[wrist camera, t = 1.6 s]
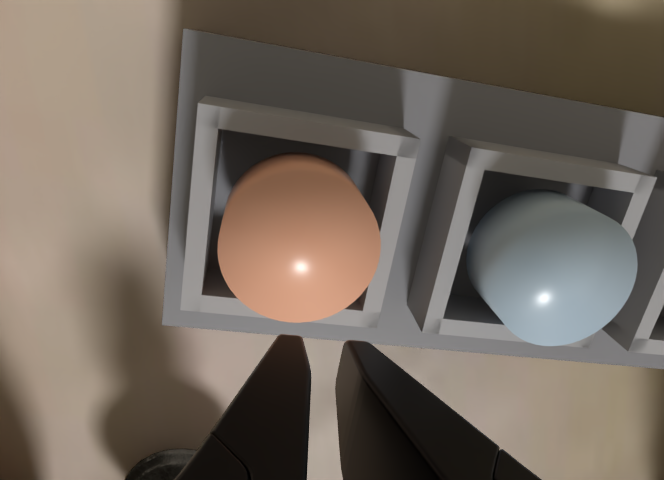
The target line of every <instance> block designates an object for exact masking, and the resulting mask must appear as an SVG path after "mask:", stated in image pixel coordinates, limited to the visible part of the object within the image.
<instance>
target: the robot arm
mask: <svg viewBox="0 0 664 480" xmlns="http://www.w3.org/2000/svg"><path fill="white" fill-rule="evenodd" d="M335 392H336V406H337V420H338V434H339V448H340V460H341V470H342V476H343V480H541V479H540V478H539V477H537V476H536V475H535V474H533V473H532V472H531V471H530V470H528V469H527V468H526V467H524V466H523V465H522V464H520V463H519V462H518V461H517V460H516V459H514V458H513V457H512V456H511V455H509V454H508V453H507V452H506V451H504V450H503V449H501V450H499V446H498V445H497V444H495V443H494V442H493V441H492V440H490V439H489V438H488V437H487V436H485V435H484V434H483V433H482V432H480V431H479V430H478V429H477V428H475V427H474V426H473V425H472V424H470V423H469V422H468V421H467V420H465V419H464V418H463V417H462V416H460V415H459V414H458V413H457V412H455V411H454V410H453V409H452V408H450V407H449V406H448V405H447V404H445V403H444V402H443V401H442V400H440V399H439V398H438V397H437V396H435V395H434V394H433V393H432V392H430V391H429V390H428V389H427V388H425V387H424V386H423V385H422V384H420V383H419V382H418V381H417V380H415V379H414V378H413V377H411V376H410V375H409V374H408V373H406V372H405V371H404V370H403V369H401V368H400V367H399V366H398V365H396V364H395V363H394V362H393V361H391V360H390V359H389V358H388V357H386V356H385V355H384V354H383V353H381V352H380V351H379V350H378V349H376V348H375V347H374V346H373V345H371V344H370V343H369V342H366V341H357V340H347V341H346V342H345V343H344V346H343V349H342V354H341V359H340V363H339V368H338V373H337V378H336V388H335ZM310 394H311V370H310V365H309V361H308V357H307V353H306V350H305V346H304V342H303V339H302V337H301V336H299V335H288V334H280V335H279V336H278V337H277V338H276V340H275V341H274V342H273V344H272V345H271V347H270V348H269V349H268V351H267V352H266V354H265V355H264V357H263V358H262V359H261V361H260V362H259V364H258V365H257V367H256V368H255V369H254V371H253V372H252V374H251V375H250V376H249V378H248V379H247V381H246V382H245V384H244V385H243V386H242V388H241V389H240V391H239V392H238V394H237V395H236V396H235V398H234V399H233V401H232V402H231V403H230V405H229V406H228V408H227V409H226V411H225V412H224V413H223V415H222V416H221V418H220V419H219V421H218V422H217V423H216V425H215V426H214V428H213V429H212V430H211V432H210V434H209V435H208V436H207V437H206V439H205V440H204V441H203V443H202V444H201V446H200V447H199V448H198V450H197V451H196V453H195V454H194V455H193V456H192V458H191V459H190V460H189V462H188V463H187V464H186V466H185V467H184V468H183V469H182V471H181V472H180V473H179V474H178V476H177V477H176V478H175V479H174V480H307V460H308V438H309V416H310Z"/></svg>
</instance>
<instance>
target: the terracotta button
mask: <svg viewBox="0 0 664 480" xmlns="http://www.w3.org/2000/svg"><path fill="white" fill-rule="evenodd" d="M217 252H218V261H219V265H220V269H221V272H222V275H223V277H224V280H225V281H226V283H227V285H228V287H229V288H230V290H231V291H232V292H233V293H234V295H235V296H236V297H237V298H238V299H239V300H240V301H241V302H242V303H243V304H244V305H246V306H247V307H248V308H250V309H251V310H253V311H255V312H257V313H258V314H260V315H263V316H265V317H268V318H270V319H274V320H278V321H283V322H293V323H301V322H311V321H316V320H320V319H323V318H327V317H329V316H332V315H334V314H336V313H338V312H340V311H341V310H343V309H345V308H346V307H348V306H349V305H350V304H352V303H353V302H354V301H355V300H356V299H357V298H358V297H359V296H360V295H361V294H362V293H363V292H364V291H365V289H366V288H367V287H368V285H369V283H370V282H371V280H372V278H373V276H374V274H375V272H376V269H377V266H378V263H379V258H380V252H381V239H380V231H379V228H378V224H377V221H376V218H375V216H374V214H373V212H372V210H371V209H370V207H369V205H368V204H367V202H366V200H365V199H364V197H363V196H362V194H361V193H360V191H359V189H358V188H357V186H356V185H355V183H354V181H353V180H352V179H351V178H350V176H349V175H348V174H347V173H346V172H345V171H344V170H343V169H342V168H340V167H339V166H338V165H336V164H335V163H333V162H331V161H329V160H328V159H326V158H323V157H320V156H318V155H314V154H309V153H302V152H289V153H282V154H277V155H274V156H271V157H268V158H266V159H264V160H261V161H259V162H258V163H256V164H255V165H253V166H252V167H250V168H249V169H248V170H247V171H246V172H245V173H244V174H243V175H242V176H241V177H240V178H239V179H238V180H237V182H236V183H235V185H234V186H233V188H232V190H231V192H230V194H229V196H228V199H227V202H226V206H225V210H224V215H223V219H222V223H221V228H220V232H219V238H218V251H217Z"/></svg>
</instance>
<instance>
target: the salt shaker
mask: <svg viewBox="0 0 664 480" xmlns="http://www.w3.org/2000/svg"><path fill="white" fill-rule="evenodd" d="M195 453H196V450H188V449H174V450H166V451H162V452H159V453H155V454H152V455H151V456H149V457H147V458H145V459H143V460H142V461H140V462H139V463H138V464H137V465H136V466H135V467H134V468H133V469H132V470H131V471H130V473H129V475H128V477H127V478H126V480H174V479H175V478H176V477H177V476H178V474H179V473H180V472H181V471H182V469H183V468H184V467H185V466H186V464H187V463H188V462H189V460H190V459H191V458H192V456H193V455H194V454H195Z"/></svg>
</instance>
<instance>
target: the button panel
mask: <svg viewBox="0 0 664 480" xmlns="http://www.w3.org/2000/svg"><path fill="white" fill-rule="evenodd" d="M289 152H302V153H309V154H314V155H318V156H320V157H323V158H326V159H328V160H329V161H331V162H333V163H335V164H336V165H338V166H339V167H340V168H342V169H343V170H344V171H345V172H346V173H347V174H348V175H349V176H350V178H351V179H352V180H353V181H354V183H355V185H356V186H357V188H358V189H359V191H360V193H361V194H362V196H363V197H364V199H365V200H366V202H367V204H368V205H369V207H370V209H371V210H372V212H373V214H374V216H375V218H376V221H377V224H378V228H379V231H380V239H381V252H380V258H379V263H378V266H377V269H376V272H375V274H374V276H373V278H372V280H371V282H370V283H369V285H368V287H367V288H366V289H365V291H364V292H363V293H362V294H361V295H360V296H359V297H358V298H357V299H356V300H355V301H354V302H353V303H352V304H350V305H349V306H348V307H346V308H345V309H343V310H341V311H340V312H338V313H336V314H334V315H332V316H329V317H327V318H323V319H320V320H316V321H311V322H301V323H293V322H283V321H278V320H274V319H270V318H268V317H265V316H263V315H260V314H258V313H257V312H255V311H253V310H251V309H250V308H248V307H247V306H246V305H244V304H243V303H242V302H241V301H240V300H239V299H238V298H237V297H236V296H235V295H234V293H233V292H232V291H231V290H230V288H229V287H228V285H227V283H226V281H225V280H224V277H223V275H222V272H221V269H220V265H219V261H218V252H217V251H218V238H219V232H220V228H221V223H222V219H223V215H224V210H225V206H226V202H227V199H228V196H229V194H230V192H231V190H232V188H233V186H234V185H235V183H236V182H237V180H238V179H239V178H240V177H241V176H242V175H243V174H244V173H245V172H246V171H247V170H248V169H249V168H250V167H252V166H253V165H255V164H256V163H258V162H259V161H261V160H264V159H266V158H268V157H271V156H274V155H277V154H282V153H289ZM532 189H549V190H554V191H558V192H560V193H563V194H565V195H567V196H569V197H571V198H573V199H575V200H577V201H579V202H580V203H582V204H584V205H586V206H588V207H590V208H592V209H594V210H596V211H598V212H600V213H602V214H604V215H606V216H608V217H609V218H611V219H613V220H615V221H616V222H618V223H619V224H620V225H621V226H622V227H623V228H624V229H625V230H626V231H627V232H628V234H629V235H630V237H631V239H632V240H633V243H634V246H635V248H636V253H637V263H638V265H637V275H636V279H635V283H634V286H633V289H632V291H631V293H630V295H629V298H628V299H627V301H626V303H625V304H624V306H623V307H622V308H621V310H620V311H619V312H618V314H617V315H616V316H615V317H614V318H613V319H612V320H611V321H610V322H609V323H607V324H606V325H605V326H604V327H603V328H601V329H600V330H598V331H597V332H596V333H594V334H592V335H590V336H588V337H586V338H584V339H582V340H580V341H577V342H574V343H570V344H566V345H560V346H541V345H535V344H532V343H529V342H526V341H524V340H522V339H520V338H519V337H517V336H516V335H514V334H513V333H512V332H511V331H510V330H509V329H508V328H507V327H506V326H505V324H504V323H503V322H502V321H501V320H500V318H499V317H498V316H497V315H496V314H495V312H494V311H493V310H492V309H491V308H490V307H489V305H488V304H487V303H486V302H485V301H484V299H483V298H482V297H481V296H480V295H479V293H478V292H477V291H476V290H475V288H474V287H473V285H472V283H471V281H470V279H469V276H468V272H467V266H466V256H467V249H468V244H469V241H470V238H471V236H472V234H473V232H474V230H475V228H476V226H477V225H478V223H479V222H480V220H481V219H482V218H483V217H484V215H485V214H486V213H487V212H488V211H489V210H490V209H491V208H492V207H494V206H495V205H496V204H498V203H499V202H501V201H502V200H504V199H506V198H507V197H509V196H512V195H514V194H516V193H519V192H522V191H526V190H532ZM162 325H166V326H177V327H189V328H200V329H211V330H223V331H234V332H246V333H257V334H268V335H280V334H288V335H299V336H301V337H303V338H314V339H325V340H337V341H347V340H357V341H366V342H369V343H371V344H382V345H394V346H405V347H417V348H428V349H439V350H451V351H462V352H474V353H485V354H496V355H508V356H519V357H531V358H542V359H554V360H565V361H576V362H588V363H599V364H611V365H622V366H633V367H645V368H656V369H664V117H661V116H656V115H650V114H645V113H639V112H634V111H629V110H623V109H618V108H613V107H607V106H602V105H596V104H591V103H586V102H580V101H575V100H570V99H564V98H559V97H553V96H548V95H543V94H537V93H532V92H527V91H521V90H516V89H510V88H505V87H500V86H494V85H489V84H484V83H478V82H473V81H467V80H462V79H457V78H451V77H446V76H440V75H435V74H430V73H424V72H419V71H414V70H408V69H403V68H397V67H392V66H387V65H381V64H376V63H371V62H365V61H360V60H354V59H349V58H344V57H338V56H333V55H328V54H322V53H317V52H311V51H306V50H301V49H295V48H290V47H284V46H279V45H274V44H268V43H263V42H258V41H252V40H247V39H241V38H236V37H231V36H225V35H220V34H215V33H209V32H204V31H198V30H192V29H184V28H183V40H182V54H181V67H180V81H179V95H178V109H177V123H176V137H175V150H174V164H173V178H172V192H171V206H170V220H169V233H168V247H167V261H166V275H165V289H164V303H163V316H162Z"/></svg>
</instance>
